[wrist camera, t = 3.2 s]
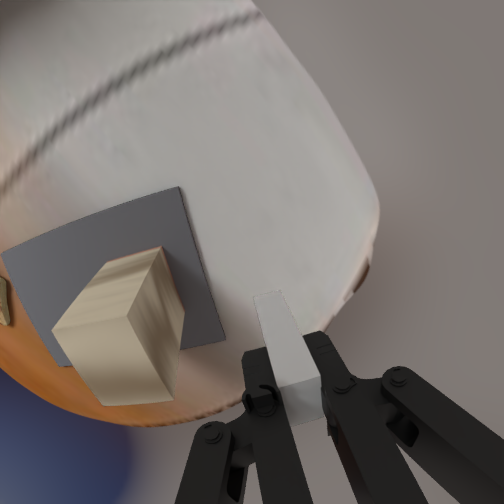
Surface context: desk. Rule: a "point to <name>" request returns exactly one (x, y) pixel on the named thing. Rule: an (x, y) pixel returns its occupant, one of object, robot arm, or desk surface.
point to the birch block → (126, 330)
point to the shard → (3, 304)
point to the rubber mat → (105, 249)
